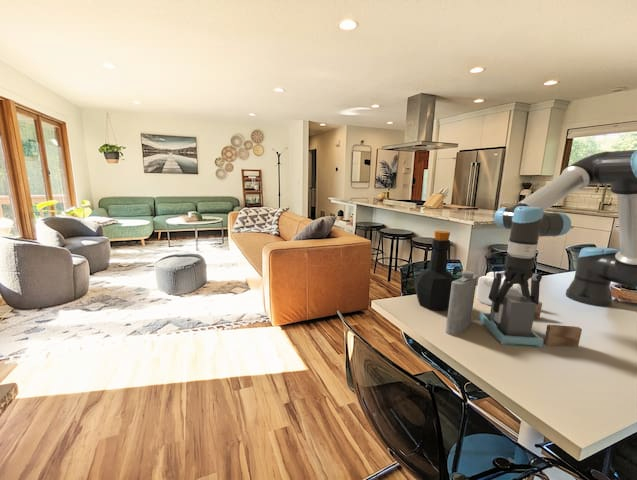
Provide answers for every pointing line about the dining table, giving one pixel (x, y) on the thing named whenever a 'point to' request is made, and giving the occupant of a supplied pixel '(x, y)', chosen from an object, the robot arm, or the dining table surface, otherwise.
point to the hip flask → (461, 303)
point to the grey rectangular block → (515, 314)
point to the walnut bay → (560, 332)
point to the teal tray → (509, 339)
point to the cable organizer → (486, 285)
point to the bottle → (436, 276)
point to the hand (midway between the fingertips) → (509, 322)
